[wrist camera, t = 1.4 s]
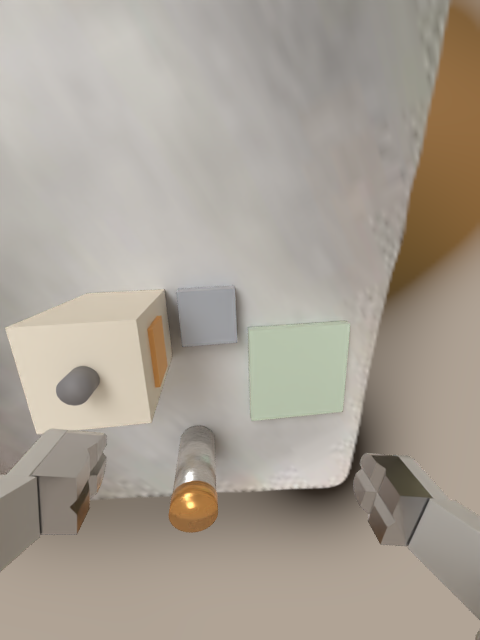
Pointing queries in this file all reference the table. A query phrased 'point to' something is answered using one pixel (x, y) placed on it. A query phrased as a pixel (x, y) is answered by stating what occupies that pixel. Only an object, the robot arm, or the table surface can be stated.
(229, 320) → the cover plate
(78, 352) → the box
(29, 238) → the table surface
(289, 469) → the table surface
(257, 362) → the pad
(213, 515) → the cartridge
